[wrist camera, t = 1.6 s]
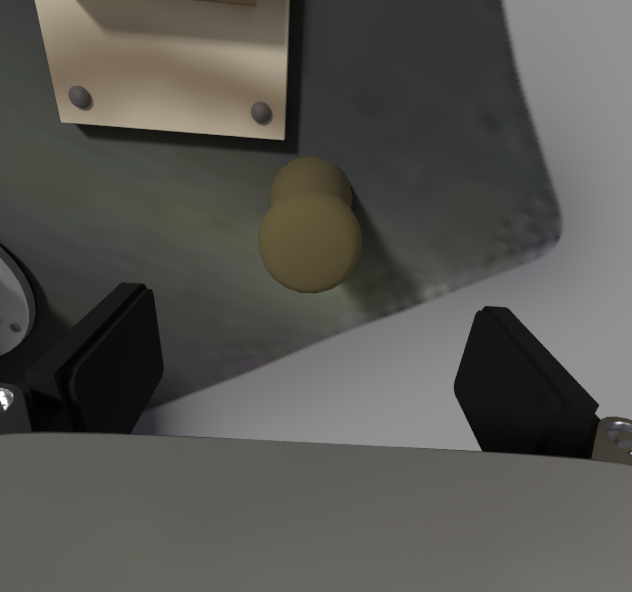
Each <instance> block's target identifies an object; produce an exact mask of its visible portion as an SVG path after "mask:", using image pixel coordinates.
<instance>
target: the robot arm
mask: <svg viewBox="0 0 632 592" xmlns="http://www.w3.org/2000/svg"><path fill="white" fill-rule="evenodd" d="M35 314H36V310H35V300H34V297H33V293H32V290H31V287H30V285H29V283H28V281H27V279H26V277H25V275H24V273H23V272H22V271H21V269H20V268H19V267H18V265H17V264H16V263H15V261H14V260H13V259H12V258H11V257H10V256H9V255H8V254H7V253H6V252H5V251H4V250H3V249H2V248H1V247H0V356H1V355H3V354H5V353H7V352H9V351H11V350H12V349H13V348H15V347H16V346H17V345H18V344H20V343H21V342H22V341H23V340H24V339H25V338H26V337H27V336H28V335H29V333H30V331H31V329H32V327H33V325H34V320H35ZM163 369H164V365H163V358H162V351H161V344H160V337H159V330H158V322H157V315H156V308H155V301H154V295H153V291H152V290H151V289H147V287H146V285H145V284H138V283H123V282H122V283H121V284H119V285H118V286H117V287H116V288H115V289H114V290H113V291H112V292H111V293H110V294H109V295H108V296H107V297H105V298H104V299H103V300H102V301H101V302H100V303H99V304H98V305H97V306H96V307H95V308H94V309H92V310H91V311H90V312H89V313H88V314H87V315H86V316H85V317H84V318H83V319H82V320H81V321H80V322H78V323H77V324H76V325H75V326H74V327H73V328H72V329H71V330H70V331H69V332H68V333H67V334H65V335H64V336H63V337H62V338H61V339H60V340H59V341H58V342H57V343H56V344H55V345H54V346H53V347H51V348H50V349H49V350H48V351H47V352H46V353H45V354H44V355H43V356H42V357H41V358H40V359H38V360H37V361H36V362H35V363H34V364H33V365H32V366H31V367H30V368H29V369H28V370H27V371H26V372H24V375H25V379H24V380H23V381H22V382H21V383H20V384H19V385H18V386H15V385H13V384H7V383H0V592H632V420H630V419H626V418H620V417H606V418H603V419H601V420H600V419H599V418H598V417H597V416H596V414H595V412H596V410H597V408H598V406H599V404H598V403H597V402H596V401H595V400H594V399H593V398H592V397H591V396H590V395H589V394H588V393H587V392H586V391H585V389H584V388H583V387H582V386H581V385H580V384H579V383H578V382H577V381H576V380H575V379H574V378H573V377H572V376H571V375H570V374H569V373H568V372H567V370H566V369H565V368H564V367H563V366H562V365H561V364H560V363H559V362H558V361H557V360H556V359H555V358H554V357H553V356H552V354H550V352H549V351H548V350H547V349H546V348H545V347H544V346H543V345H542V344H541V343H540V342H539V341H538V340H537V339H536V337H535V336H534V335H533V334H532V333H531V332H530V331H529V330H528V329H527V328H526V327H525V326H524V325H523V324H522V323H521V322H520V320H519V319H518V318H517V317H516V316H515V315H514V314H513V313H512V312H511V311H510V310H509V309H508V308H506V307H492V306H491V307H490V306H486V307H484V308H483V309H482V311H480V310H479V311H478V312H477V313H476V315H475V318H474V321H473V324H472V327H471V330H470V334H469V337H468V340H467V343H466V346H465V350H464V353H463V356H462V359H461V362H460V366H459V369H458V372H457V376H456V378H455V382H454V393H455V396H456V398H457V400H458V401H459V404H460V406H461V408H462V410H463V412H464V414H465V416H466V418H467V421H468V422H469V425H470V427H471V429H472V431H473V433H474V435H475V437H476V439H477V441H478V443H479V445H480V447H481V449H482V451H465V450H447V449H429V448H409V447H389V446H368V445H349V444H329V443H310V442H290V441H270V440H251V439H230V438H210V437H188V436H164V435H144V434H130V433H131V432H132V430H133V428H134V426H135V425H136V423H137V421H138V419H139V417H140V416H141V414H142V412H143V410H144V408H145V407H146V405H147V403H148V401H149V399H150V398H151V396H152V394H153V392H154V391H155V389H156V387H157V385H158V383H159V382H160V380H161V378H162V375H163Z"/></svg>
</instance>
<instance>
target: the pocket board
mask: <svg viewBox="0 0 632 592" xmlns="http://www.w3.org/2000/svg"><path fill="white" fill-rule="evenodd" d="M35 3H36V8H37V12H38V17H39V22H40V26H41V31H42V36H43V40H44V45H45V50H46V54H47V59H48V64H49V68H50V73H51V78H52V82H53V87H54V92H55V96H56V101H57V106H58V110H59V115H60V120H61V122H66V123H78V124H91V125H103V126H115V127H128V128H140V129H152V130H165V131H177V132H189V133H202V134H214V135H227V136H239V137H251V138H264V139H276V140H285V134H286V106H287V77H288V49H289V21H290V0H35Z"/></svg>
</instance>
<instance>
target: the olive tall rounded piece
mask: <svg viewBox="0 0 632 592" xmlns="http://www.w3.org/2000/svg"><path fill="white" fill-rule="evenodd" d="M352 197H353V196H352V191H351V187H350V183H349V181H348V179H347V178H346V176H345V174H344V172H343V171H342V170H341V169H340V168H338V167H337V166H336V165H335V164H334V163H333V162H330V161H328V160H325V159H323V158H321V157H308V156H306V157H302V158H299V159H295V160H292V161H291V162H290V163H288V164H287V165H285V166H284V167H282V168H281V170H280V171H279V172H278V174H277V175H276V176H275V178H274V179H273V182H272V186H271V189H270V210H269V211H268V212H267V213H266V215H265V217H264V219H263V222H262V225H261V228H260V231H259V252H260V255H261V257H262V260H263V263H264V266H265V268H266V269H267V271H268V272H269V273H270V274H271V276H272V277H273V278H274V279H275V280H276V281H277V282H279V283H280V284H282V285H283V286H284V287H286V288H288V289H291V290H294V291H297V292H300V293H319V292H323V291H327V290H331V289H332V288H334V287H336V286H338V285H339V284H341V283H343V282H344V281H345V280H346V279H347V278H348V277H349V276H350V274H351V273H352V272H353V271H354V269H355V267H356V265H357V263H358V260H359V258H360V256H361V249H362V241H363V238H362V233H361V229H360V224H359V222H358V220H357V218H356V216H355V215H354V213H353V211H352V210H351V206H352Z"/></svg>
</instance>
